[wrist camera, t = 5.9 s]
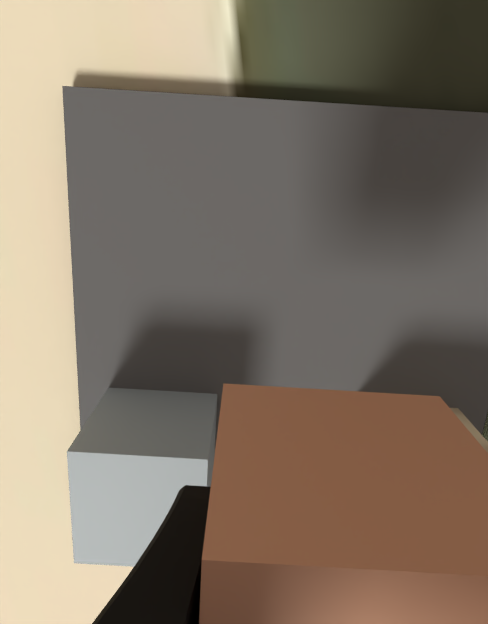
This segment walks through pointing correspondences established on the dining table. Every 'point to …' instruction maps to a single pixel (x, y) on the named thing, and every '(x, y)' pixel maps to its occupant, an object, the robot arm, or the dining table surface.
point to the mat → (277, 246)
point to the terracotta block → (344, 511)
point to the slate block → (136, 468)
